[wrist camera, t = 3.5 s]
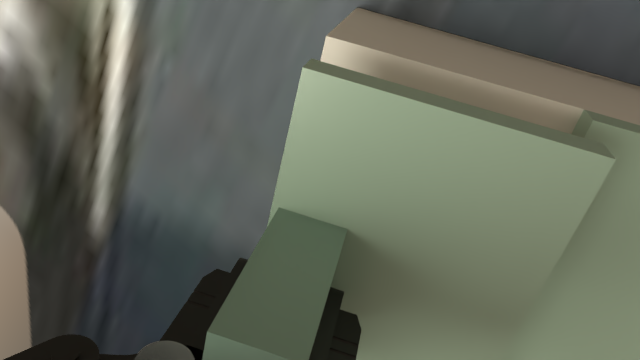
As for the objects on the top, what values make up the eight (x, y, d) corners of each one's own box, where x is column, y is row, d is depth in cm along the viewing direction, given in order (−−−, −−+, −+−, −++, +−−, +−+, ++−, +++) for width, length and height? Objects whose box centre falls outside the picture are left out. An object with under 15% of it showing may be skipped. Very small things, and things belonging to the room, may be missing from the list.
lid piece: (594, 132, 13) (727, 295, 7) (430, 438, 19) (427, 666, 13) (317, 52, 14) (227, 141, 8) (242, 374, 20) (158, 564, 14)
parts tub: (734, 112, 20) (891, 205, 13) (583, 338, 27) (637, 484, 20) (357, 7, 22) (320, 41, 15) (295, 246, 28) (247, 352, 21)
